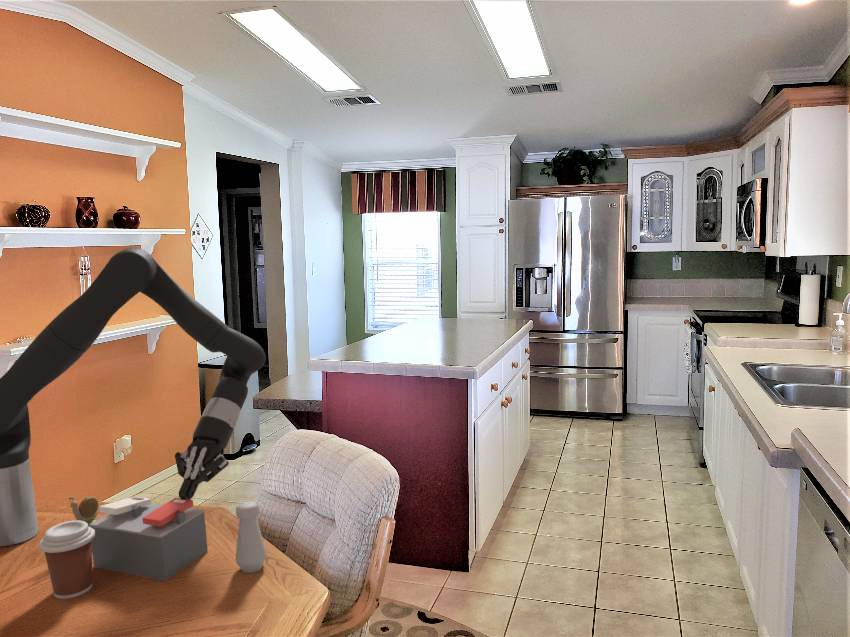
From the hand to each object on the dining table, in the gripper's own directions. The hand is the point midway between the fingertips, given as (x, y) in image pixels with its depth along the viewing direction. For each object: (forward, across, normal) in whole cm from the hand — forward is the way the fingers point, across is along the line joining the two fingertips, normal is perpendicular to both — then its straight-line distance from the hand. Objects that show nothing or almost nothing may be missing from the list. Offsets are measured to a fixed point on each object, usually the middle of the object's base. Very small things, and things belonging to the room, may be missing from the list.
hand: (184, 498), depth 133 cm
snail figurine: (+11, -24, +6) cm, 27 cm away
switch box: (+11, -6, +5) cm, 14 cm away
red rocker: (+4, 0, -3) cm, 5 cm away
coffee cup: (+21, -12, -4) cm, 24 cm away
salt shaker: (+10, +16, +7) cm, 20 cm away
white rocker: (+4, -11, -3) cm, 12 cm away
